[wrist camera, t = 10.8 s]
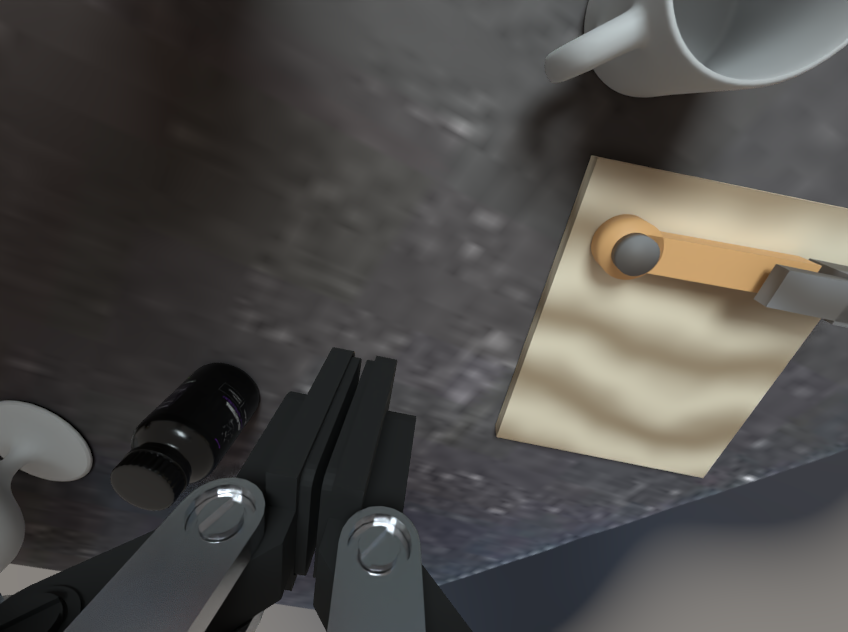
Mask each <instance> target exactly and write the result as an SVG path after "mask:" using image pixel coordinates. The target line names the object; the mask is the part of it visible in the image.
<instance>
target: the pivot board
mask: <svg viewBox="0 0 848 632" xmlns="http://www.w3.org/2000/svg"><path fill="white" fill-rule="evenodd" d="M622 214H631V215H636V216H638V217H640V218H642V219H643V220H645V221H647V222H648V223H650V224H652V225H653V226H655V227H656V228H657V229H658V230H659V231H662V232H668V233H673V234H679V235H684V236H690V237H696V238H701V239H707V240H712V241H718V242H724V243H729V244H735V245H740V246H746V247H751V248H757V249H763V250H768V251H774V252H779V253H785V254H791V255H796V256H800V257H802V258H805V259H807V260H809V261H812V262H814V263H816V264H819V265H821V266H822V267H821V268H820V270H819V271H818V272H813V271H808V270H803V269H799V268H794V267H789V266H784V265H779V264H776V265H775V266H774V268H773V269H772V271H771V273H770V274H769V276H768V277H767V279H766V280H765V282H764V284H763V285H762V287H761V288H760V290H759V291H758V293H755V292H749V291H743V290H738V289H732V288H727V287H721V286H715V285H710V284H704V283H699V282H693V281H688V280H682V279H676V278H671V277H665V276H660V275H654V274H648V273H647V272H649V271H650V270H651V269H652V268H653V267H654V266H655V265H656V264H657V262H658V260H659V257H660V248H659V246H658V244H657V243H656V242H655V241H654V240H653V239H651V238H650V237H648V236H647V235H645V234H642V233H630V234H627V235H625V236H623V237H622V238H620V239H619V240H618V241H617V242H616V243H615V245H614V247H613V249H612V253H611V258H612V261H613V263H614V265H615V266H616V267H617V268H618V269H619V270H620V271H621V272H622V273H624V274H626V275H629V276H639V275H643V274H645V273H646V274H645V275H643V276H641V277H638V278H635V279H630V280H621V279H617V278H614V277H612V276H610V275H609V274H607V273H606V272H605V271H604V269H603V268H602V267H601V266H600V265H599V264H598V263H597V262H596V260H595V259H594V257H593V255H592V251H591V243H592V239H593V236H594V234H595V232H596V231H597V229H598V228H599V227H600V226H601V225H602V224H603V223H604V222H605V221H607V220H608V219H610V218H612V217H614V216H617V215H622ZM821 318H822V319H824V320H825V321H827V322H829V323H831V324H833V325H837V326H842V327H847V328H848V208H843V207H838V206H833V205H828V204H824V203H819V202H814V201H809V200H804V199H800V198H795V197H790V196H785V195H780V194H776V193H771V192H766V191H761V190H756V189H752V188H747V187H742V186H737V185H732V184H727V183H723V182H718V181H713V180H708V179H703V178H699V177H694V176H689V175H684V174H679V173H675V172H670V171H665V170H660V169H655V168H651V167H646V166H641V165H636V164H631V163H627V162H622V161H617V160H612V159H607V158H603V157H598V156H593V155H591V158H590V161H589V164H588V166H587V169H586V172H585V175H584V178H583V180H582V183H581V186H580V189H579V192H578V195H577V197H576V200H575V203H574V206H573V209H572V211H571V214H570V217H569V220H568V223H567V225H566V228H565V231H564V234H563V237H562V240H561V242H560V245H559V248H558V251H557V254H556V256H555V259H554V262H553V265H552V268H551V270H550V273H549V276H548V279H547V282H546V285H545V287H544V290H543V293H542V296H541V299H540V301H539V304H538V307H537V310H536V313H535V315H534V318H533V321H532V324H531V327H530V330H529V332H528V335H527V338H526V341H525V344H524V346H523V349H522V352H521V355H520V358H519V361H518V363H517V366H516V369H515V372H514V375H513V377H512V380H511V383H510V386H509V389H508V391H507V394H506V397H505V400H504V403H503V406H502V408H501V411H500V414H499V417H498V420H497V422H496V425H495V428H496V437H500V438H505V439H510V440H515V441H520V442H525V443H530V444H535V445H540V446H545V447H550V448H555V449H560V450H565V451H570V452H575V453H580V454H585V455H590V456H595V457H600V458H605V459H610V460H615V461H620V462H626V463H631V464H636V465H641V466H646V467H651V468H656V469H661V470H666V471H671V472H676V473H681V474H686V475H691V476H696V477H701V478H703V477H704V476H705V475H706V473H707V472H708V471H709V469H710V468H711V467H712V465H713V464H714V463H715V461H716V460H717V459H718V457H719V456H720V454H721V453H722V452H723V450H724V449H725V448H726V446H727V445H728V444H729V442H730V441H731V440H732V438H733V437H734V436H735V434H736V433H737V431H738V430H739V429H740V427H741V426H742V425H743V423H744V422H745V421H746V419H747V418H748V417H749V415H750V414H751V413H752V411H753V410H754V408H755V407H756V406H757V404H758V403H759V402H760V400H761V399H762V398H763V396H764V395H765V394H766V392H767V391H768V390H769V388H770V387H771V385H772V384H773V383H774V381H775V380H776V379H777V377H778V376H779V375H780V373H781V372H782V371H783V369H784V368H785V367H786V365H787V364H788V362H789V361H790V360H791V358H792V357H793V356H794V354H795V353H796V352H797V350H798V349H799V348H800V346H801V345H802V344H803V342H804V341H805V339H806V338H807V337H808V335H809V334H810V333H811V331H812V330H813V329H814V327H815V326H816V325H817V323H818V322H819V321H820V319H821Z"/></svg>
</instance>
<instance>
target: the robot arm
mask: <svg viewBox="0 0 848 632" xmlns="http://www.w3.org/2000/svg"><path fill="white" fill-rule="evenodd" d="M396 365H397V360H395V359H390V358H385V357H380V356H376V359H375V361H371V360H367V362H366V364H365V367H364V370H363V373H362V375H361V378H360V381H359V375H360V368H361V358H356V357H355V352H354V351H350V350H345V349H340V348H335V347H333V348H332V350H331V351H330V353H329V355H328V357H327V359H326V361H325V363H324V364H323V366H322V368H321V370H320V372H319V374H318V376H317V377H316V379H315V381H314V383H313V385H312V387H311V389H310V391H309V392H308V394H307V395H306V394H301V393H296V392H289V393H288V394H287V395H286V397H285V398H284V400H283V401H282V403H281V405H280V406H279V408H278V410H277V411H276V413H275V415H274V416H273V418H272V419H271V421H270V423H269V424H268V426H267V428H266V429H265V431H264V433H263V434H262V436H261V438H260V439H259V441H258V442H257V444H256V446H255V447H254V449H253V451H252V452H251V454H250V456H249V457H248V459H247V461H246V462H245V464H244V465H243V467H242V469H241V470H240V472H239V474H238V475H237V477H236V478H235V477H234V478H221V479H218V480H214V481H211V482H208V483H206V484H204V485H202V486H201V487H199V488H197V489H195V490H194V491H193V492H192V493H191V494H189V495H188V496H187V497H186V498H185V499H184V500H183V501H182V502H181V503H180V504H179V505H178V506H177V507H176V509H175V510H174V511H173V512H172V513H171V514H170V515H169V516H168V517H167V518H166V520H165V521H164V522H163V523H162V524H161V525H160V526H159V527H158V528H157V529H156V530H154V531H152V532H149V533H147V534H145V535H143V536H140V537H138V538H136V539H134V540H131V541H129V542H127V543H125V544H122V545H120V546H118V547H116V548H113V549H111V550H109V551H107V552H104V553H102V554H100V555H98V556H95V557H93V558H91V559H89V560H86V561H84V562H82V563H80V564H77V565H75V566H73V567H71V568H68V569H66V570H64V571H62V572H60V573H57V574H55V575H53V576H50V577H48V578H46V579H44V580H42V581H39V582H38V583H35V584H32V585H30V586H29V587H27V588H25V589H23V590H21V591H20V592H17V593H16V594H14V595H7V596H2V595H1V593H0V632H255V630H256V628H257V626H258V624H259V622H260V620H261V618H262V615H263V612H264V610H265V609H266V608H268V607H270V606H271V605H273V604H274V603H276V602H277V601H279V600H280V599H281V598H282V595H283V592H284V590H290V591H292V588H293V585H294V582H295V579H296V577H297V574H299V575H304V576H306V574H307V572H308V569H309V566H310V563H311V560H312V557H313V554H314V551H315V548H316V551H315V562H314V573H313V577H314V578H316V582H315V592H314V602H313V606H314V608H315V610H316V612H317V614H318V616H319V618H320V620H321V622H322V624H323V625H324V627H325V629H326V632H472V630H471V629H470V628H469V626H468V625H467V624H466V622H465V621H464V620H463V618H462V617H461V616H460V614H459V613H458V612H457V610H456V609H455V608H454V606H453V605H452V604H451V602H450V601H449V600H448V598H447V597H446V596H445V594H444V593H443V592H442V590H441V589H440V588H439V586H438V585H437V584H436V582H435V581H434V580H433V578H432V577H431V576H430V574H429V573H428V572H427V570H426V569H425V568H424V566H423V565H422V563H421V546H420V540H419V536H418V532H417V530H416V528H415V527H414V525H413V523H412V522H411V521H410V520H409V519H408V518H407V517H406V516H405V515H404V514H403V507H404V500H405V493H406V486H407V479H408V472H409V465H410V458H411V451H412V444H413V437H414V430H415V422H416V416H412V415H407V414H402V413H397V412H392V411H388V409H389V404H390V398H391V393H392V387H393V382H394V376H395V371H396Z"/></svg>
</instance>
